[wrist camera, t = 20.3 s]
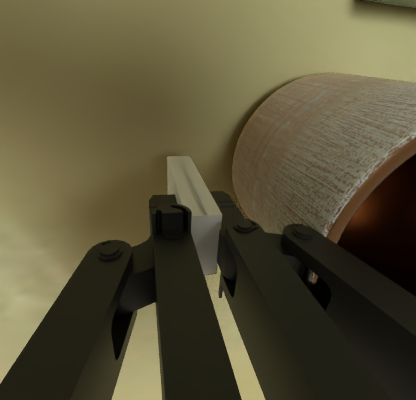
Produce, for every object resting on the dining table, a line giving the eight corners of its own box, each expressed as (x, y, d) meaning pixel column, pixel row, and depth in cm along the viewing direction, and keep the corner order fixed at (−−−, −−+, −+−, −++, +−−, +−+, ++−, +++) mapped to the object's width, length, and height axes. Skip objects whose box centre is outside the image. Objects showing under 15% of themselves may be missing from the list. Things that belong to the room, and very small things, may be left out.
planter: (319, 26, 15) (552, -8, 6) (396, 144, 20) (580, 207, 12) (194, 174, 17) (249, 286, 9) (292, 244, 22) (383, 355, 14)
